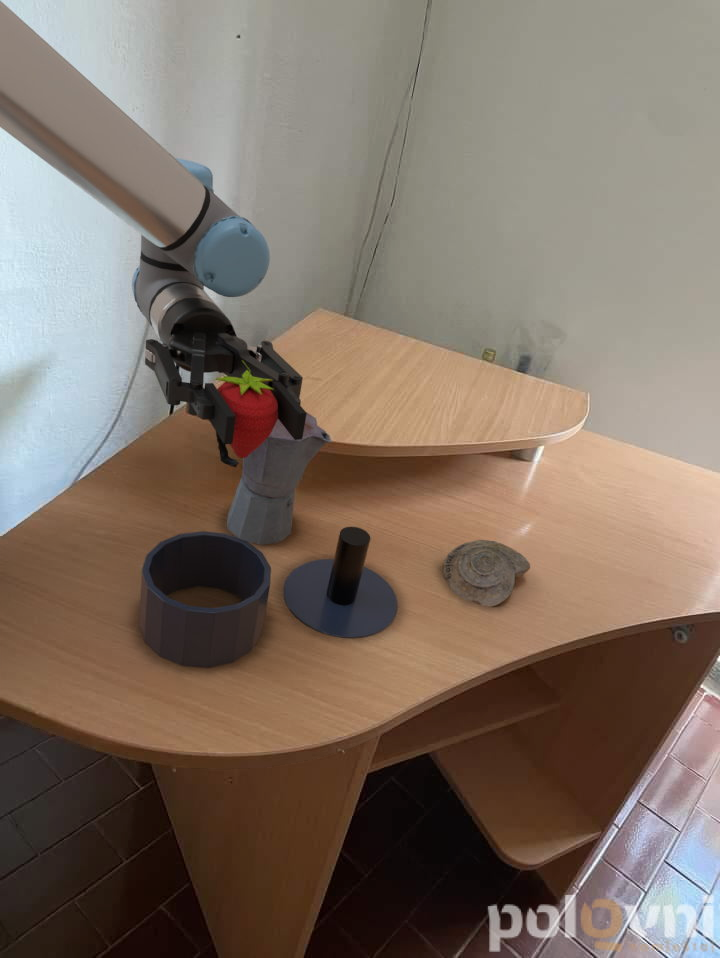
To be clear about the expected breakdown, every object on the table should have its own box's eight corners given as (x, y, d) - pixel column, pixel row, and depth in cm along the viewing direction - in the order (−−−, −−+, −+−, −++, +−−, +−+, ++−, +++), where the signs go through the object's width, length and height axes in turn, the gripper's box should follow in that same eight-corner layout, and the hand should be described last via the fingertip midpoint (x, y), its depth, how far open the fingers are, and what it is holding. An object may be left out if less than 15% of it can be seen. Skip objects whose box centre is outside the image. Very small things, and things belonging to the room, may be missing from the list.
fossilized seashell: (430, 550, 95) (462, 517, 91) (484, 565, 101) (516, 535, 97) (456, 615, 88) (492, 581, 84) (513, 627, 93) (549, 596, 90)
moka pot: (302, 565, 90) (329, 429, 79) (187, 536, 90) (199, 396, 80) (317, 525, 98) (343, 397, 88) (212, 498, 98) (226, 368, 88)
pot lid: (310, 655, 76) (325, 584, 71) (265, 575, 86) (276, 507, 81) (416, 631, 83) (437, 564, 78) (363, 559, 93) (379, 496, 88)
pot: (156, 686, 69) (160, 623, 65) (128, 600, 78) (130, 539, 74) (278, 658, 75) (289, 599, 71) (239, 582, 84) (246, 525, 80)
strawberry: (219, 479, 64) (230, 379, 59) (200, 439, 69) (209, 344, 64) (280, 475, 66) (296, 379, 61) (257, 437, 72) (270, 346, 67)
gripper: (268, 360, 84) (352, 457, 67) (103, 360, 75) (155, 473, 58) (276, 299, 80) (368, 387, 64) (104, 292, 71) (159, 392, 55)
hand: (266, 428), depth 61 cm, fingers closed on strawberry, 6 cm apart
